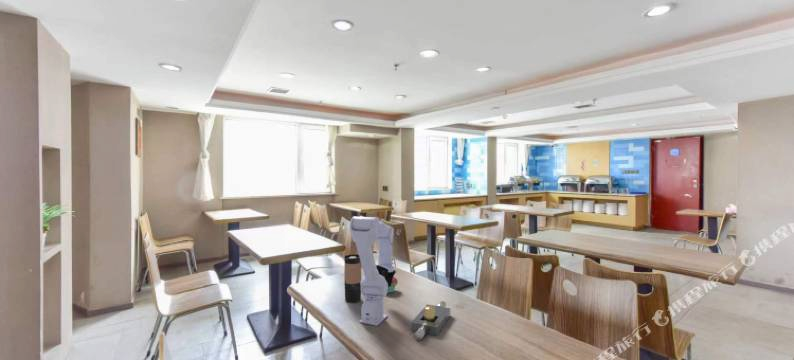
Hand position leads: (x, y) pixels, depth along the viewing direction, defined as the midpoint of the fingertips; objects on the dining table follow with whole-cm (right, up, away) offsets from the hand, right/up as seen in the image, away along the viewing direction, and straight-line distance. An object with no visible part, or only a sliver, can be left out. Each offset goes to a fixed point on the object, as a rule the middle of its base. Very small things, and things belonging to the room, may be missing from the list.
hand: (385, 283), depth 148 cm
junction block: (+19, -10, -17) cm, 27 cm away
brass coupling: (+17, -10, -20) cm, 28 cm away
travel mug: (-15, -9, +6) cm, 19 cm away
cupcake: (+1, -9, +17) cm, 20 cm away
